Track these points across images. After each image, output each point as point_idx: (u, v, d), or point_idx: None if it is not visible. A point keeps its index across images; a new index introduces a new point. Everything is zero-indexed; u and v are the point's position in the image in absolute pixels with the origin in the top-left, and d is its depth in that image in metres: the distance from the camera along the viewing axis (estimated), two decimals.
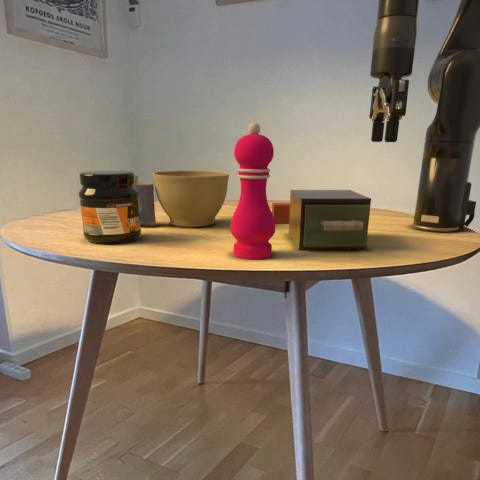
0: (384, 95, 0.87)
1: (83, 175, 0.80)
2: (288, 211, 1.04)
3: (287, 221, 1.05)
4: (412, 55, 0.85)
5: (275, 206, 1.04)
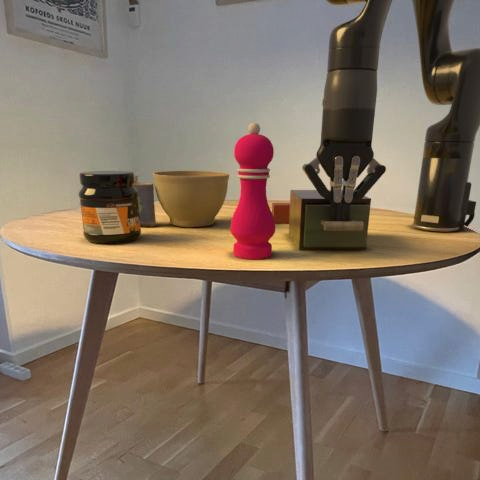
0: None
1: (83, 175, 0.80)
2: (288, 211, 1.04)
3: (287, 221, 1.05)
4: (335, 117, 0.66)
5: (275, 206, 1.04)
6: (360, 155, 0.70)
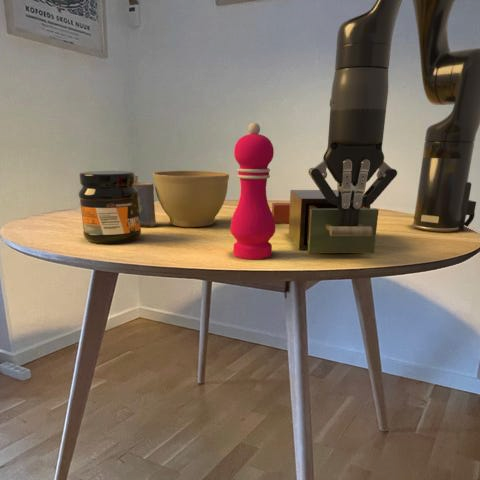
0: None
1: (83, 175, 0.80)
2: (288, 211, 1.04)
3: (287, 221, 1.05)
4: (344, 118, 0.62)
5: (275, 206, 1.04)
6: (370, 158, 0.66)
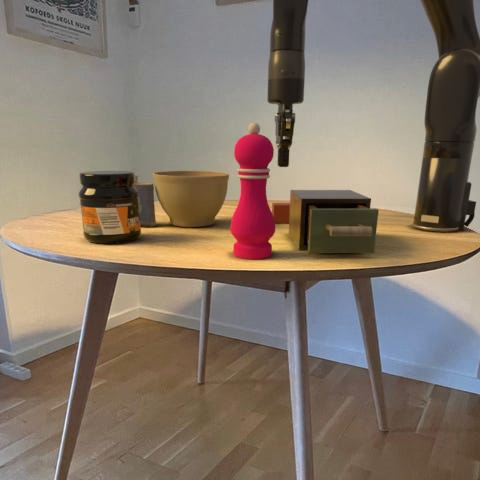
0: (278, 123, 0.97)
1: (83, 175, 0.80)
2: (288, 211, 1.04)
3: (287, 221, 1.05)
4: (301, 85, 0.94)
5: (275, 206, 1.04)
6: None
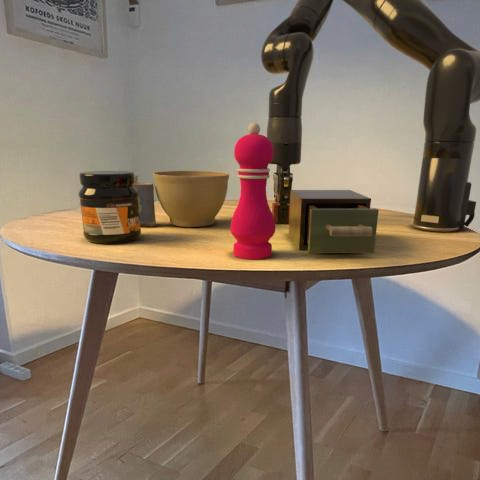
0: None
1: (83, 175, 0.80)
2: (288, 211, 1.04)
3: (287, 221, 1.05)
4: None
5: (275, 206, 1.04)
6: (279, 173, 1.01)
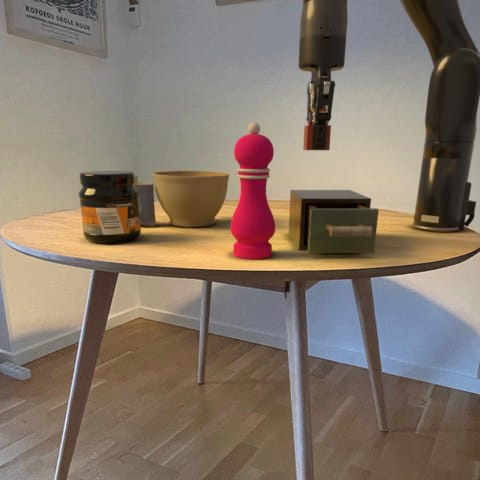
0: None
1: (83, 175, 0.80)
2: (326, 134, 0.80)
3: None
4: None
5: (309, 127, 0.79)
6: (315, 80, 0.76)
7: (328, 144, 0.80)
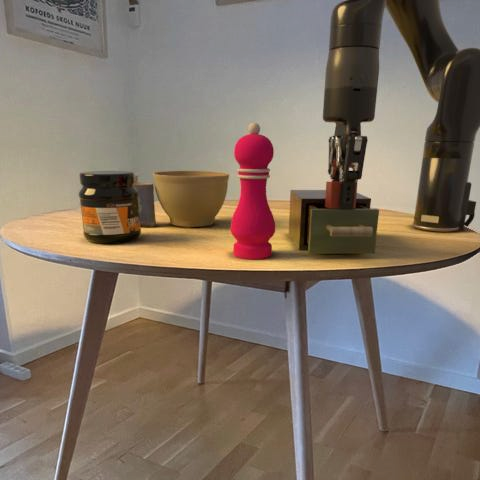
0: None
1: (83, 175, 0.80)
2: None
3: None
4: None
5: (333, 183, 0.71)
6: (343, 135, 0.68)
7: (354, 202, 0.72)
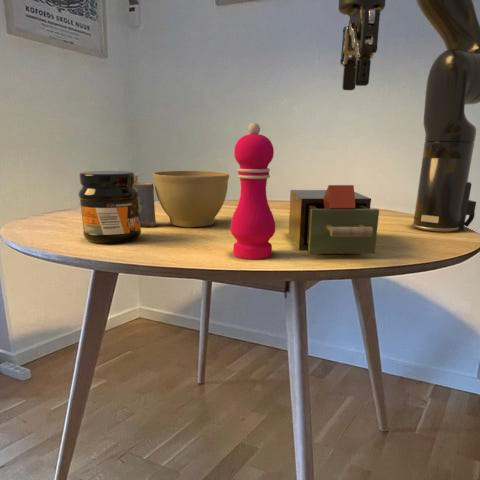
0: None
1: (83, 175, 0.80)
2: (350, 192, 0.73)
3: (350, 205, 0.72)
4: None
5: (330, 186, 0.73)
6: (356, 21, 0.76)
7: (353, 202, 0.73)
